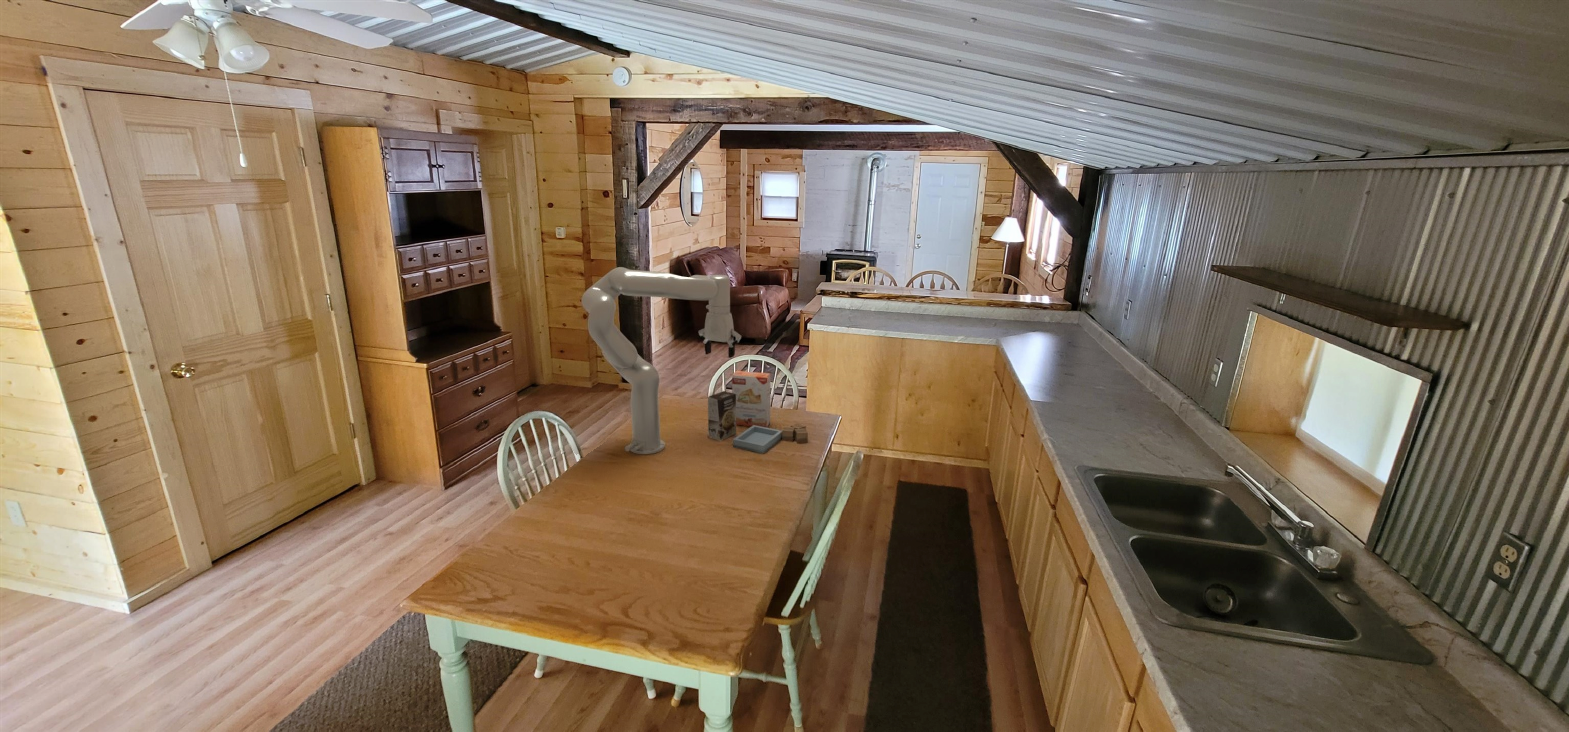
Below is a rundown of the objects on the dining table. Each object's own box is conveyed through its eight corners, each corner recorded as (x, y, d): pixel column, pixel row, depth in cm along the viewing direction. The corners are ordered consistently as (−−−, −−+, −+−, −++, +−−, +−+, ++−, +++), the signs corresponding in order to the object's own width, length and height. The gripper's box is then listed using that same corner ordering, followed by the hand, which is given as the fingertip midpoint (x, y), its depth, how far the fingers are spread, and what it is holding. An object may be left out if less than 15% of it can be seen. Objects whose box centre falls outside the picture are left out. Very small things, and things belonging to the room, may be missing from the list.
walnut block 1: (792, 441, 238) (792, 431, 237) (782, 440, 239) (782, 430, 238) (794, 437, 242) (794, 427, 241) (784, 436, 242) (784, 426, 241)
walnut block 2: (798, 438, 241) (798, 428, 239) (790, 435, 243) (790, 425, 242) (805, 435, 243) (805, 425, 242) (798, 432, 246) (798, 422, 245)
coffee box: (720, 441, 237) (719, 400, 232) (707, 437, 241) (706, 396, 236) (737, 434, 244) (736, 393, 239) (724, 429, 248) (723, 390, 243)
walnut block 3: (807, 442, 237) (807, 432, 236) (797, 443, 236) (797, 433, 235) (804, 438, 241) (804, 428, 240) (794, 439, 240) (794, 429, 239)
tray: (763, 453, 227) (763, 445, 226) (732, 446, 232) (732, 439, 231) (782, 438, 240) (783, 430, 239) (753, 432, 245) (753, 424, 245)
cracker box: (732, 425, 252) (731, 374, 246) (736, 419, 258) (735, 369, 252) (766, 428, 249) (767, 377, 243) (770, 423, 255) (770, 372, 249)
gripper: (693, 308, 233) (694, 354, 237) (735, 313, 226) (735, 360, 231) (704, 305, 239) (704, 350, 244) (745, 310, 233) (745, 356, 237)
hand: (719, 355), depth 237 cm, fingers open, 9 cm apart
